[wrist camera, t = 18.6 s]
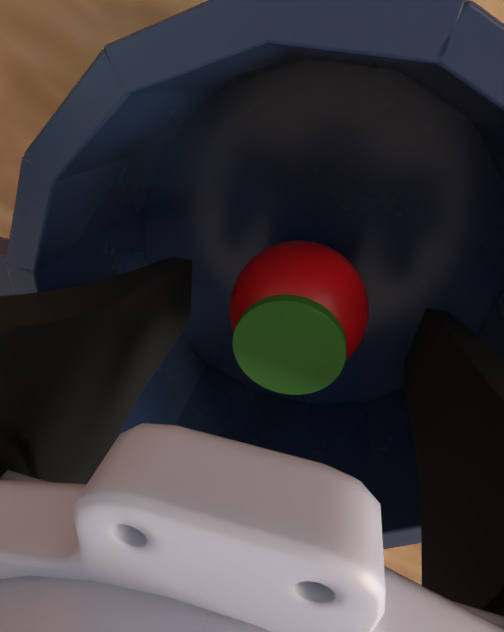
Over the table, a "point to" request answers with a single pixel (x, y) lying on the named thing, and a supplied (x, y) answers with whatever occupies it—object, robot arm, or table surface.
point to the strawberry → (297, 316)
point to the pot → (285, 202)
